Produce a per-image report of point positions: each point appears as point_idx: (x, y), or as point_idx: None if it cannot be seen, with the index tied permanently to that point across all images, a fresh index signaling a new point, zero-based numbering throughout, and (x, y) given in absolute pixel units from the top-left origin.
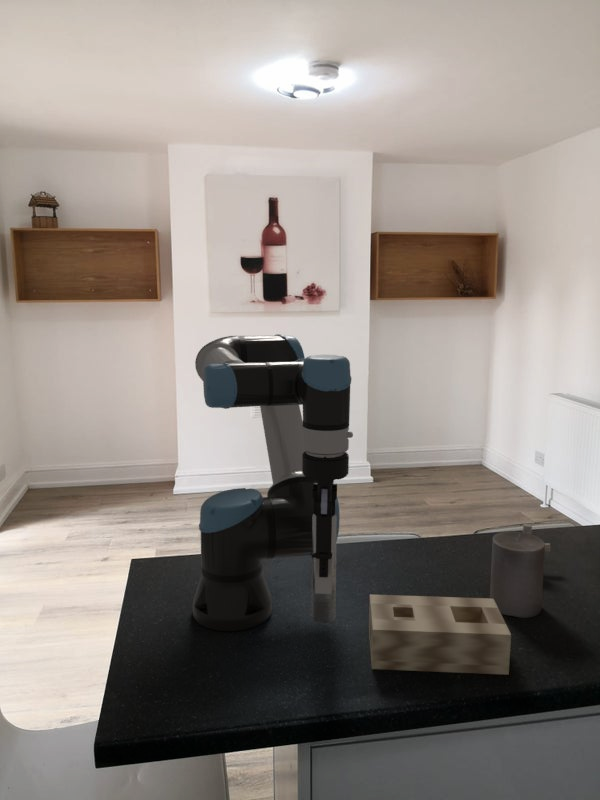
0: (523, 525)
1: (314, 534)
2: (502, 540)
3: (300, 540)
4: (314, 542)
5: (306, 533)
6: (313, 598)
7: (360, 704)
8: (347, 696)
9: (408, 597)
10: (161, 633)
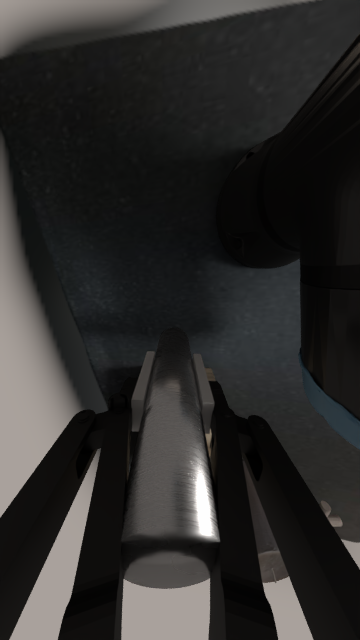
0: None
1: (146, 446)
2: (274, 558)
3: (311, 343)
4: (149, 421)
5: (323, 364)
6: (164, 341)
7: (95, 352)
8: (105, 343)
9: (210, 430)
10: (220, 99)
